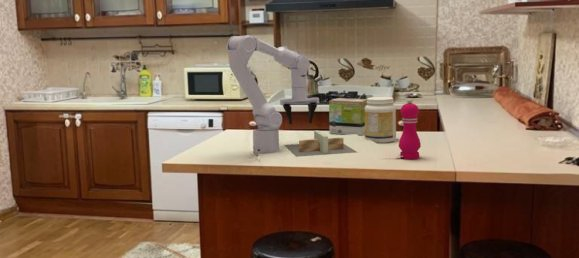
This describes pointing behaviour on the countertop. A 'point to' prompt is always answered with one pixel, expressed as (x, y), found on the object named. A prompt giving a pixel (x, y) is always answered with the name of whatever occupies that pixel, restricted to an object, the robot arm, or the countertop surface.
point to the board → (295, 150)
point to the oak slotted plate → (314, 146)
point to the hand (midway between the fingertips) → (300, 123)
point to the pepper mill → (409, 132)
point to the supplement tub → (380, 120)
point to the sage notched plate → (322, 141)
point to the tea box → (347, 116)
